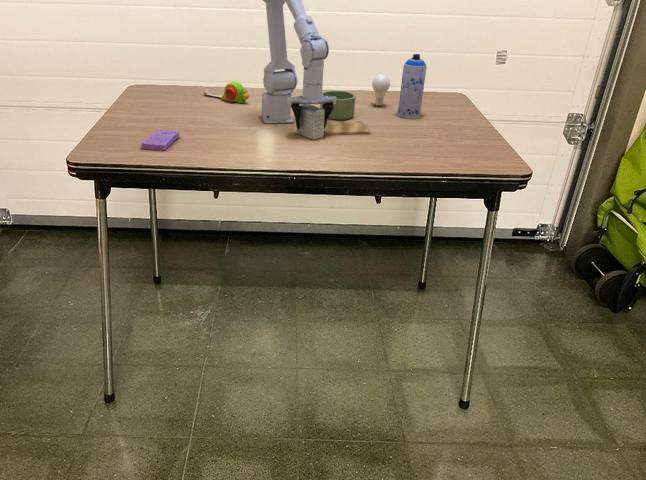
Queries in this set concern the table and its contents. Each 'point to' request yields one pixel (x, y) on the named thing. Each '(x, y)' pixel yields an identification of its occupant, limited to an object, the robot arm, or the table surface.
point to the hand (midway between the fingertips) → (310, 128)
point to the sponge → (160, 140)
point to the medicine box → (311, 121)
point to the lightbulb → (380, 87)
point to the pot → (341, 104)
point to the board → (345, 128)
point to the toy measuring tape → (232, 93)
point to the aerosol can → (412, 88)
